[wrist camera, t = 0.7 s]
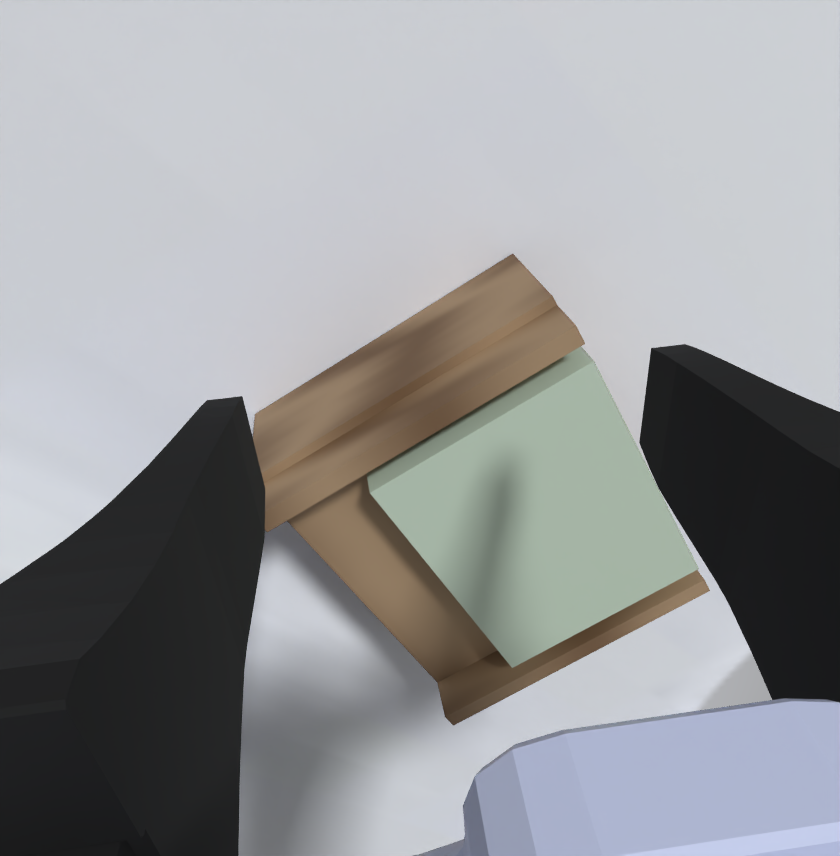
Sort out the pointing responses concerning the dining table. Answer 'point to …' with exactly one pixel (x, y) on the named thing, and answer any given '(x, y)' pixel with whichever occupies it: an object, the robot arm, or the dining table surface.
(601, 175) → the dining table surface
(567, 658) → the walnut box
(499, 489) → the cover plate
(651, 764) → the robot arm
